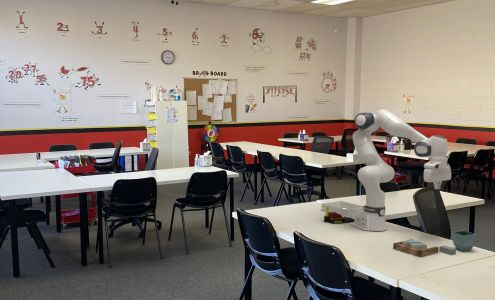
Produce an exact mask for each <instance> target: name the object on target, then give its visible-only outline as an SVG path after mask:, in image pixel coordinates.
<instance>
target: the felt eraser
mask: <svg viewBox="0 0 495 300" xmlns="http://www.w3.org/2000/svg"><path fill="white" fill-rule="evenodd" d="M438 247H439V250H438V253H443V254H446V255H449V256H453V255H456V254H457V249H456V247H451V246H448V245H445V244H444V245H440V246H438Z"/></svg>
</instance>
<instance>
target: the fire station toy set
mask: <svg viewBox="0 0 495 300" xmlns="http://www.w3.org/2000/svg"><path fill="white" fill-rule="evenodd" d="M323 222H324V223H326V224H327V223H329V224H331V225H335V224H349V223H350V224H351V223H353V222H355V218H353V217H343V216H341V215H340V214H338V213H336V212H329V207H328V206H326V212H325V215H323Z"/></svg>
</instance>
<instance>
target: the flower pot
mask: <svg viewBox="0 0 495 300" xmlns="http://www.w3.org/2000/svg"><path fill="white" fill-rule="evenodd" d="M451 238H452V239H451V240H452V244H453V246H454V248H455V249H456V250H459V251H461V252H466V251H471V250H472V249H473V247H474V246H475V244H476V243H475V242H476V239H477V234H475V233H472V232H469V231H467V230H455V231H451Z"/></svg>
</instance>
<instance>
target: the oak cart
mask: <svg viewBox="0 0 495 300" xmlns="http://www.w3.org/2000/svg"><path fill="white" fill-rule="evenodd" d="M402 241H403V242H402V245H404V246H408V247H411V248H414V249H418V250H423V249H427V248H428V245H427V244H426V243H424V242H422V241H419V240H416V239H412V240H410V239H406V240H402Z"/></svg>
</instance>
